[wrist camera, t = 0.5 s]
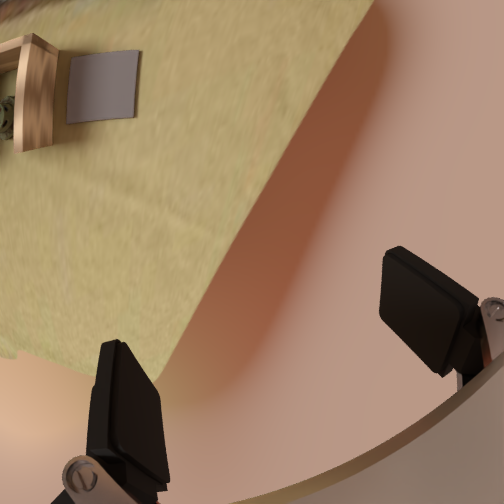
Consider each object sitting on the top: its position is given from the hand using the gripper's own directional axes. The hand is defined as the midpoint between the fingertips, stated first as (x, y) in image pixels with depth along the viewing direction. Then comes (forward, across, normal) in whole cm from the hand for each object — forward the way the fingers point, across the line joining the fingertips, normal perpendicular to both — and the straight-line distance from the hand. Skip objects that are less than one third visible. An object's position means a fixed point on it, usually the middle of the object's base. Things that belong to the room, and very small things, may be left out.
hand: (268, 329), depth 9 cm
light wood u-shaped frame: (+31, +22, -18) cm, 42 cm away
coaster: (+31, +8, -15) cm, 35 cm away
